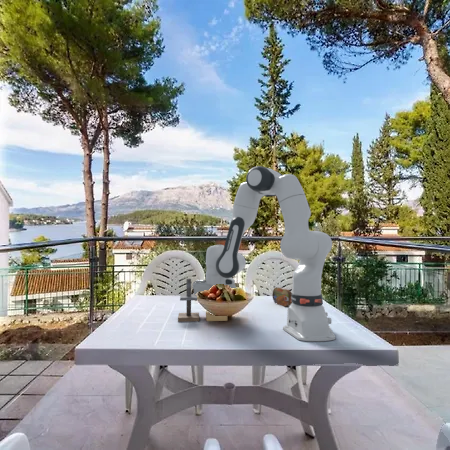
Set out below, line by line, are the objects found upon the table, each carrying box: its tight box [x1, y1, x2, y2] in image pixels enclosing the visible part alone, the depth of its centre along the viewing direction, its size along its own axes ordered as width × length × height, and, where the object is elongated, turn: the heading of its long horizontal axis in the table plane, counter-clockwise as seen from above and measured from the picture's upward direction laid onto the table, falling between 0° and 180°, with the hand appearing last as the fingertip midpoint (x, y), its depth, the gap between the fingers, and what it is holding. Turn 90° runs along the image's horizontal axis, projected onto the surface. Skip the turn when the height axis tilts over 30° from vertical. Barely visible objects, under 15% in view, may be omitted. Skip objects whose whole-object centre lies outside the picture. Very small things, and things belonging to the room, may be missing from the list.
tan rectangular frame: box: [205, 310, 228, 322], centre depth 170 cm, size 14×9×2 cm, turn 5°
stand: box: [177, 278, 200, 323], centre depth 167 cm, size 9×9×18 cm
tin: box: [271, 287, 292, 307], centre depth 194 cm, size 15×3×8 cm, turn 25°
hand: (215, 310), depth 175 cm, fingers open, 3 cm apart
